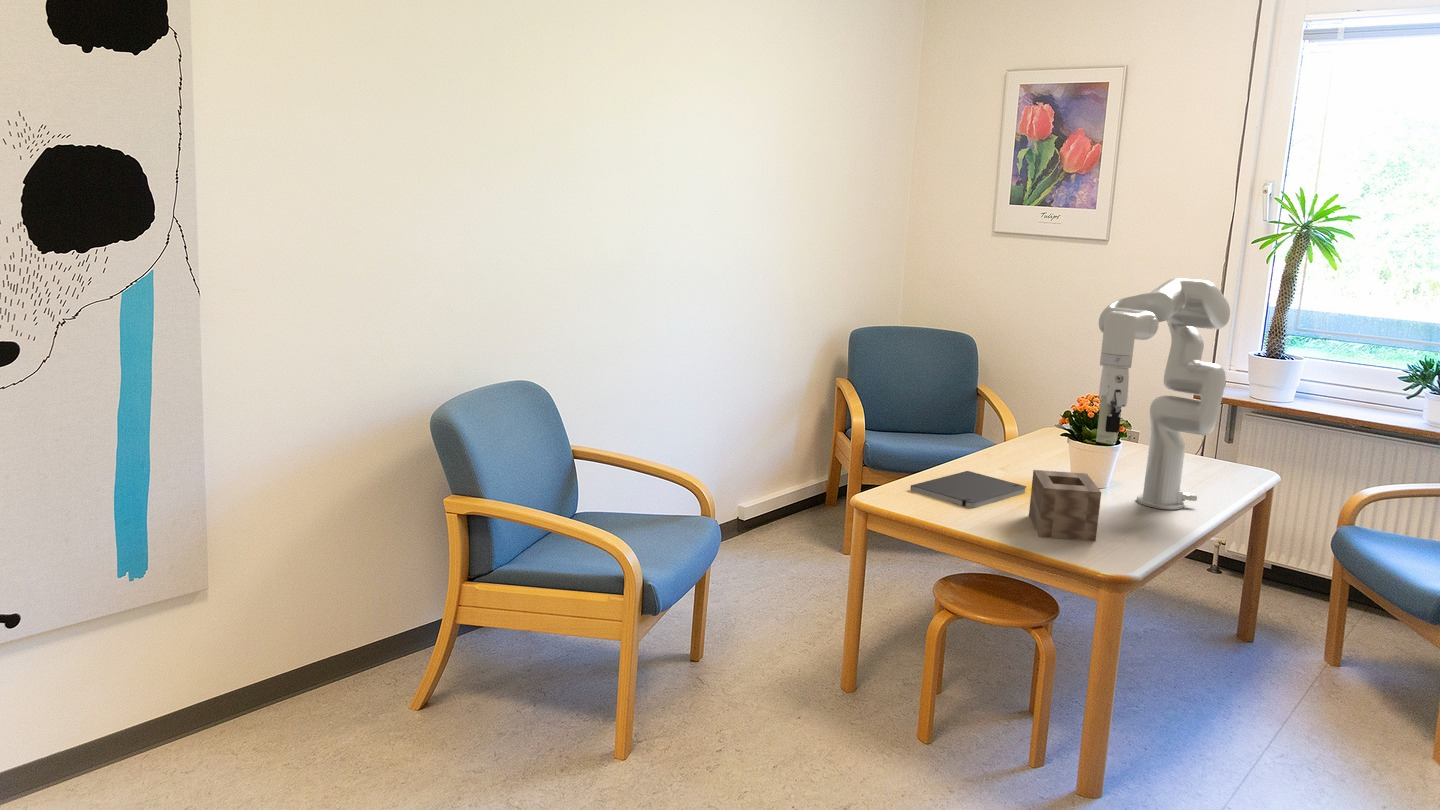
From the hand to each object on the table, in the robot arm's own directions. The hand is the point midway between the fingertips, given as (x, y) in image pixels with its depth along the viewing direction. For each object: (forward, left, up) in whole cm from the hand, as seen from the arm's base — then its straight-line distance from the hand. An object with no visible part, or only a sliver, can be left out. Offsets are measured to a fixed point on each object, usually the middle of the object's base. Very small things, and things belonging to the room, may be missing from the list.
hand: (1107, 428), depth 264 cm
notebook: (+30, -30, -29) cm, 51 cm away
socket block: (+9, -1, -28) cm, 29 cm away
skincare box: (0, 0, -4) cm, 4 cm away
